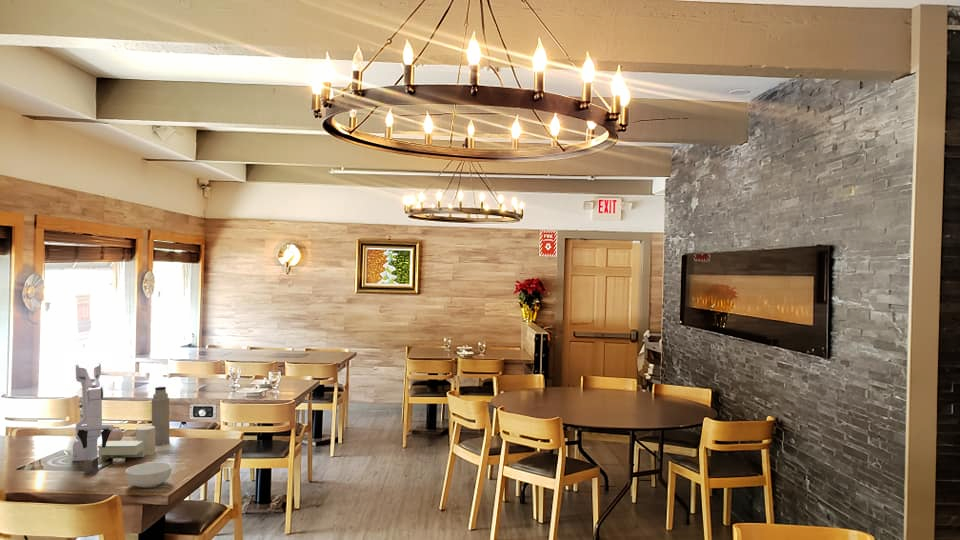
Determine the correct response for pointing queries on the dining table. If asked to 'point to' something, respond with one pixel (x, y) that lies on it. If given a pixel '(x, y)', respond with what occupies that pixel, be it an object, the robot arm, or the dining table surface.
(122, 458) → the token
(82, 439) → the robot arm
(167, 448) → the dining table surface
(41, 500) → the dining table surface
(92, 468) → the dark grey long block
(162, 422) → the thermos bottle
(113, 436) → the decorative fruit
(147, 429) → the beige cylinder
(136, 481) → the cereal bowl
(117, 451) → the pale green rectangular block
